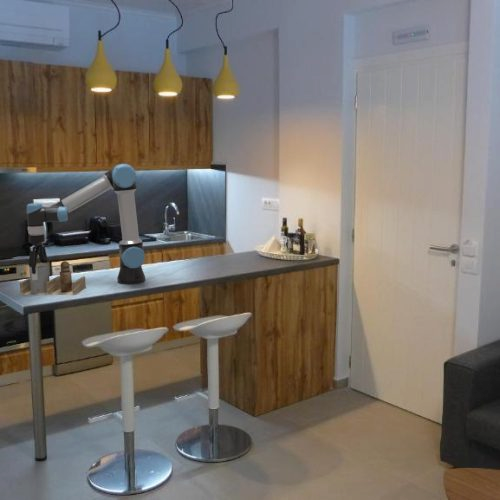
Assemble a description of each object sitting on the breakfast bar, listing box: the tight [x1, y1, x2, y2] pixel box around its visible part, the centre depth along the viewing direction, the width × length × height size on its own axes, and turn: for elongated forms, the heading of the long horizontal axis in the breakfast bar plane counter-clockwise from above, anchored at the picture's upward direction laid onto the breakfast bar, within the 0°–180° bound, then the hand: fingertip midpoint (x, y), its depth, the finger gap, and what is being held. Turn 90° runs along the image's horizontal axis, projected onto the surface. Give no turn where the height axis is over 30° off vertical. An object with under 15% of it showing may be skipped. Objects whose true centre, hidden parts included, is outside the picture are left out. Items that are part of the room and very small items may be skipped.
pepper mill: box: [59, 260, 73, 292], centre depth 315 cm, size 6×6×16 cm
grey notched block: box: [28, 265, 51, 294], centre depth 315 cm, size 10×10×12 cm
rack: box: [19, 275, 87, 296], centre depth 316 cm, size 28×16×7 cm, turn 86°
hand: (39, 277), depth 315 cm, fingers open, 10 cm apart
